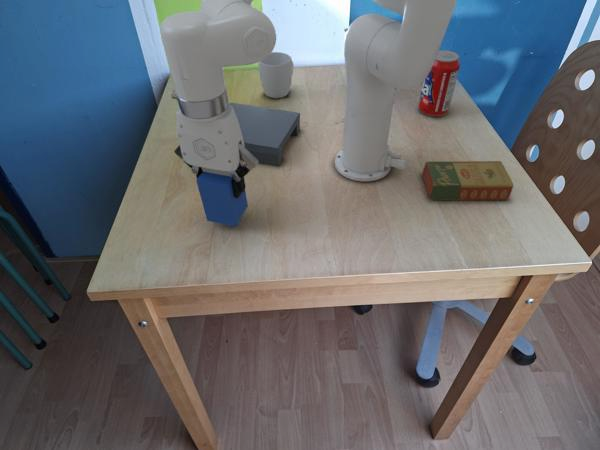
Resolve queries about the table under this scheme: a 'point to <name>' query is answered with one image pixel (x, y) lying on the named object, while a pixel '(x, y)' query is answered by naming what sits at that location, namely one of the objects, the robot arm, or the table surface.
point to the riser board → (266, 131)
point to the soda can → (439, 84)
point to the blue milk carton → (220, 197)
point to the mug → (276, 74)
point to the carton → (467, 180)
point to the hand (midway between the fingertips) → (222, 189)
